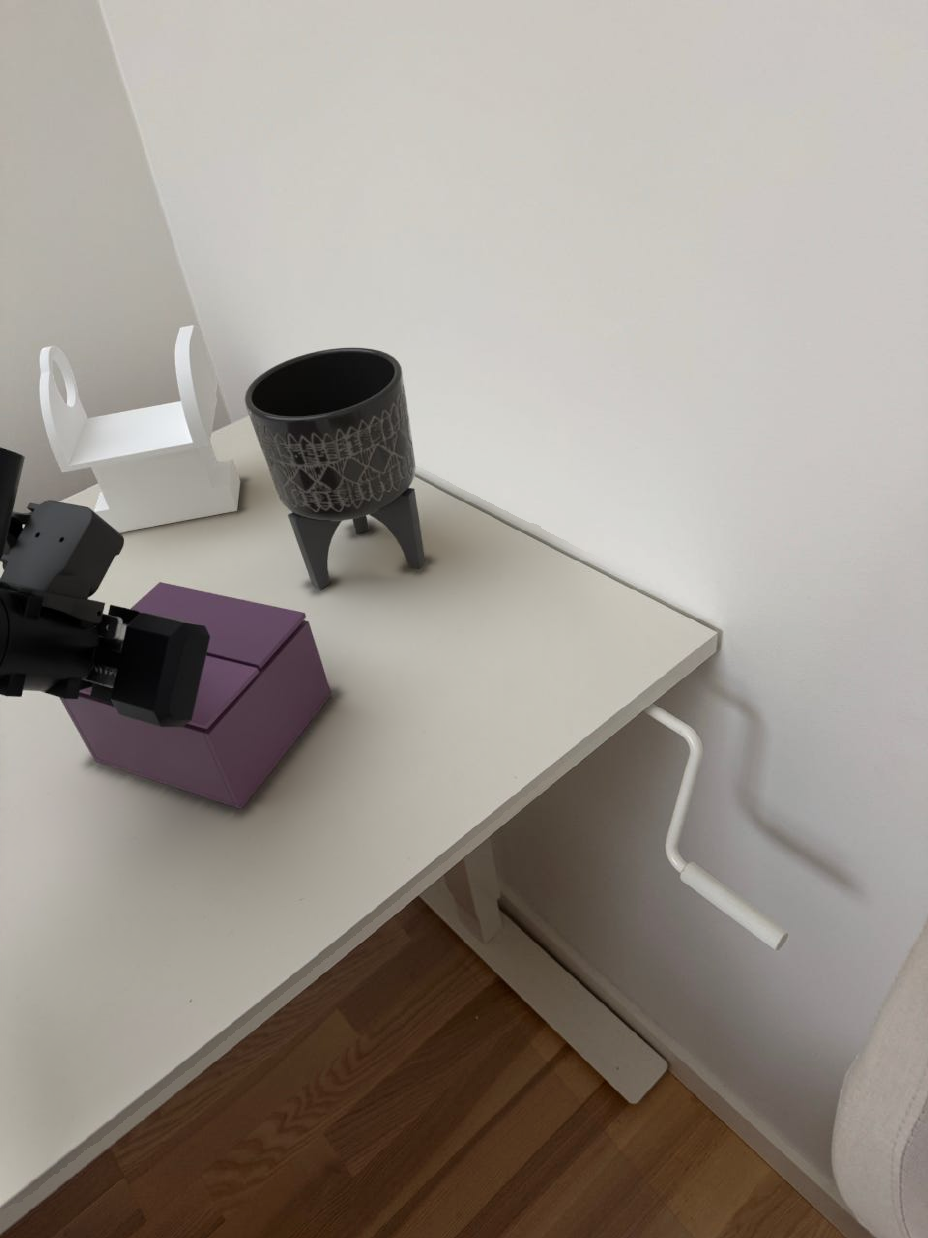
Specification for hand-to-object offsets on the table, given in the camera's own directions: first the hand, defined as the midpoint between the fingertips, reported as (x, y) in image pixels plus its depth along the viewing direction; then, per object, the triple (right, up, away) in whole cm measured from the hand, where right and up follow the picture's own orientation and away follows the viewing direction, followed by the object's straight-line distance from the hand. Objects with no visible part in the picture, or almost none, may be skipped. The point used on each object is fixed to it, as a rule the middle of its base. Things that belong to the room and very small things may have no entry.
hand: (166, 656), depth 67 cm
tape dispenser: (-10, +15, +34) cm, 38 cm away
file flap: (-1, -2, -1) cm, 2 cm away
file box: (+2, -6, +6) cm, 9 cm away
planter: (+12, +8, +21) cm, 26 cm away
